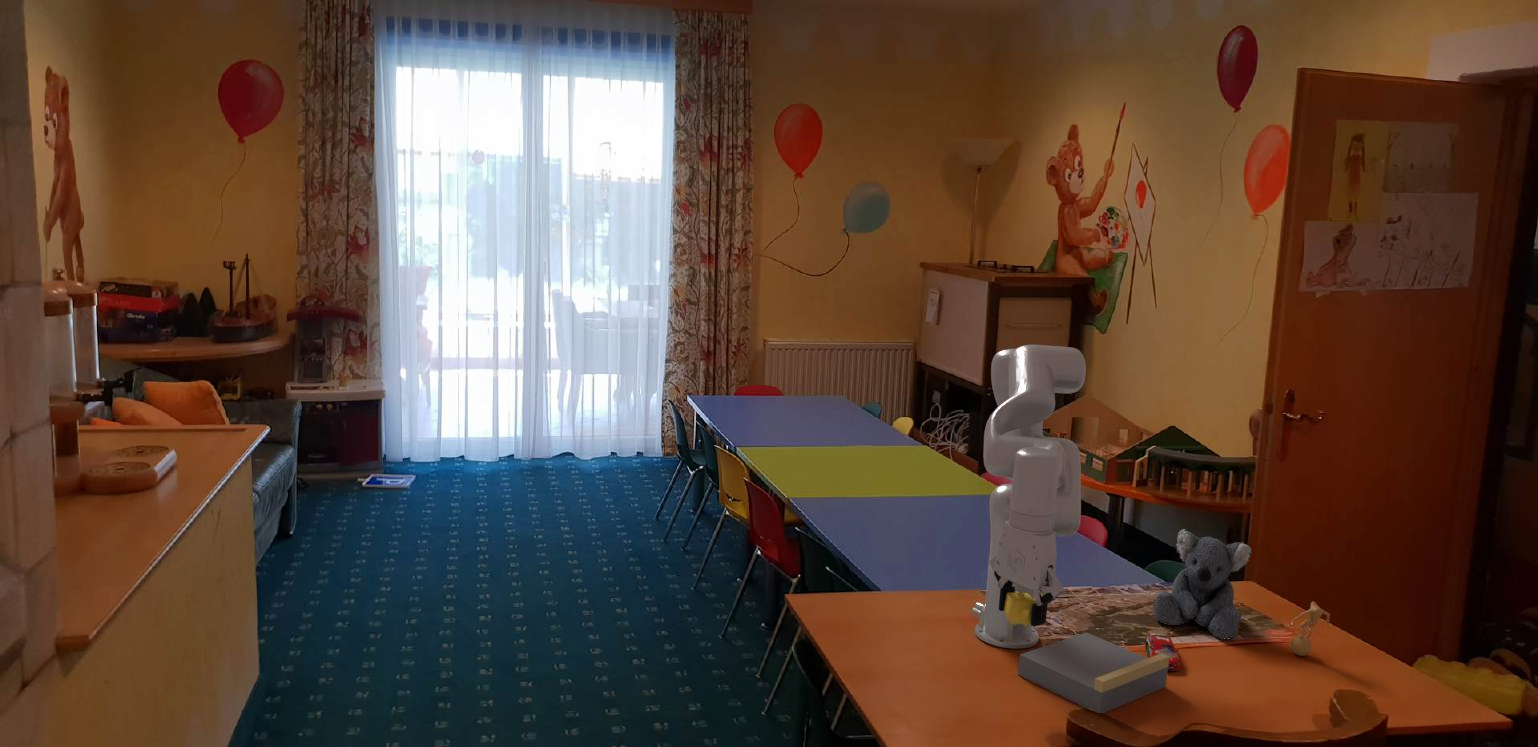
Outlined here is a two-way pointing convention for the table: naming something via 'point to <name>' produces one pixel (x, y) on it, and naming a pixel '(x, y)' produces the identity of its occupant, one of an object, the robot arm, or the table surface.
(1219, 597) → the koala plush
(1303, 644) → the figurine
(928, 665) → the table surface
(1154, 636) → the race car
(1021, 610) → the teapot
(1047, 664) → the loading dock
